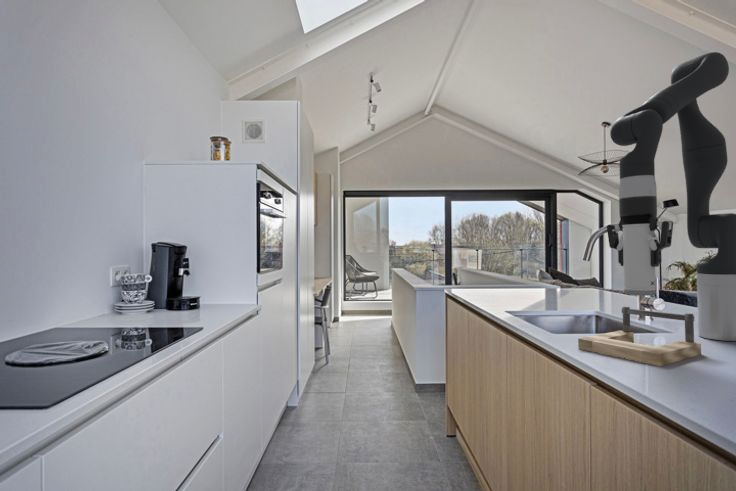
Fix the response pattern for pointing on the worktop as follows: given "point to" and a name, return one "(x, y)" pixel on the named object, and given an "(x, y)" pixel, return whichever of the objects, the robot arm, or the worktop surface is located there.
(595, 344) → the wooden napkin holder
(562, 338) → the worktop surface
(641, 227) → the travel mug
